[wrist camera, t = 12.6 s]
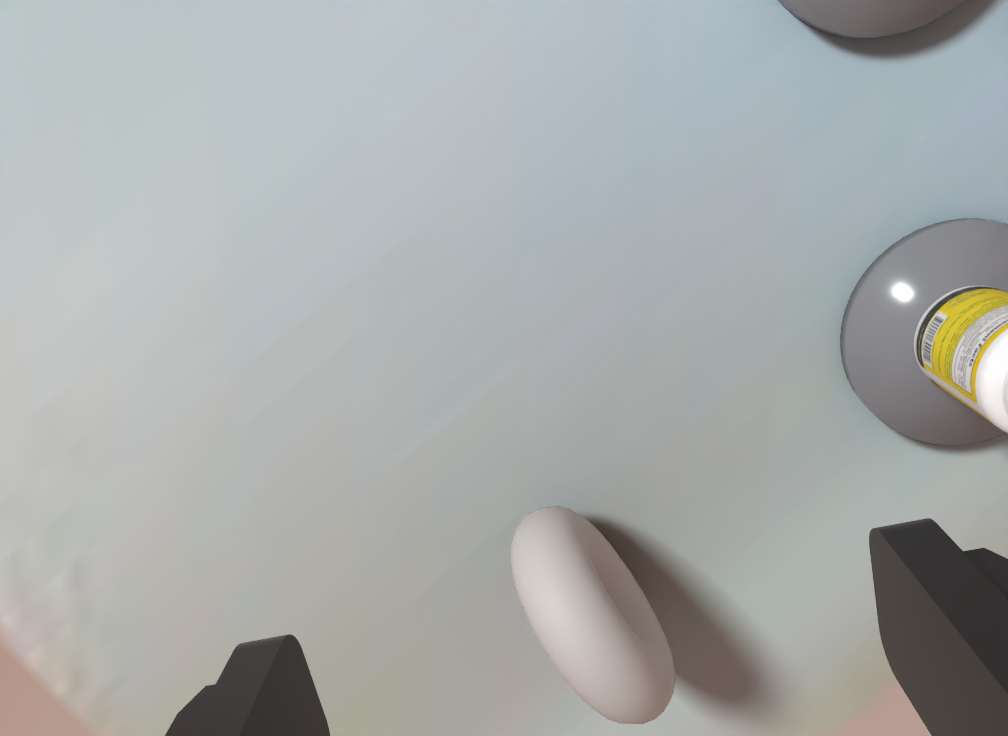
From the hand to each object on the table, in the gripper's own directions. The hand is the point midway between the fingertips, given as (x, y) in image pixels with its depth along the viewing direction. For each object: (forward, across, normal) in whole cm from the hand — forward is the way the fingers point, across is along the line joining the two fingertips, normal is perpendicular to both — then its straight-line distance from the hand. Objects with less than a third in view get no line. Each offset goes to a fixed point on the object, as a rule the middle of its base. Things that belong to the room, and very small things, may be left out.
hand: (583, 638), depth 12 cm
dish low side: (+28, -17, +7) cm, 33 cm away
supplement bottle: (+27, -17, +7) cm, 32 cm away
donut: (+28, +1, +14) cm, 32 cm away
